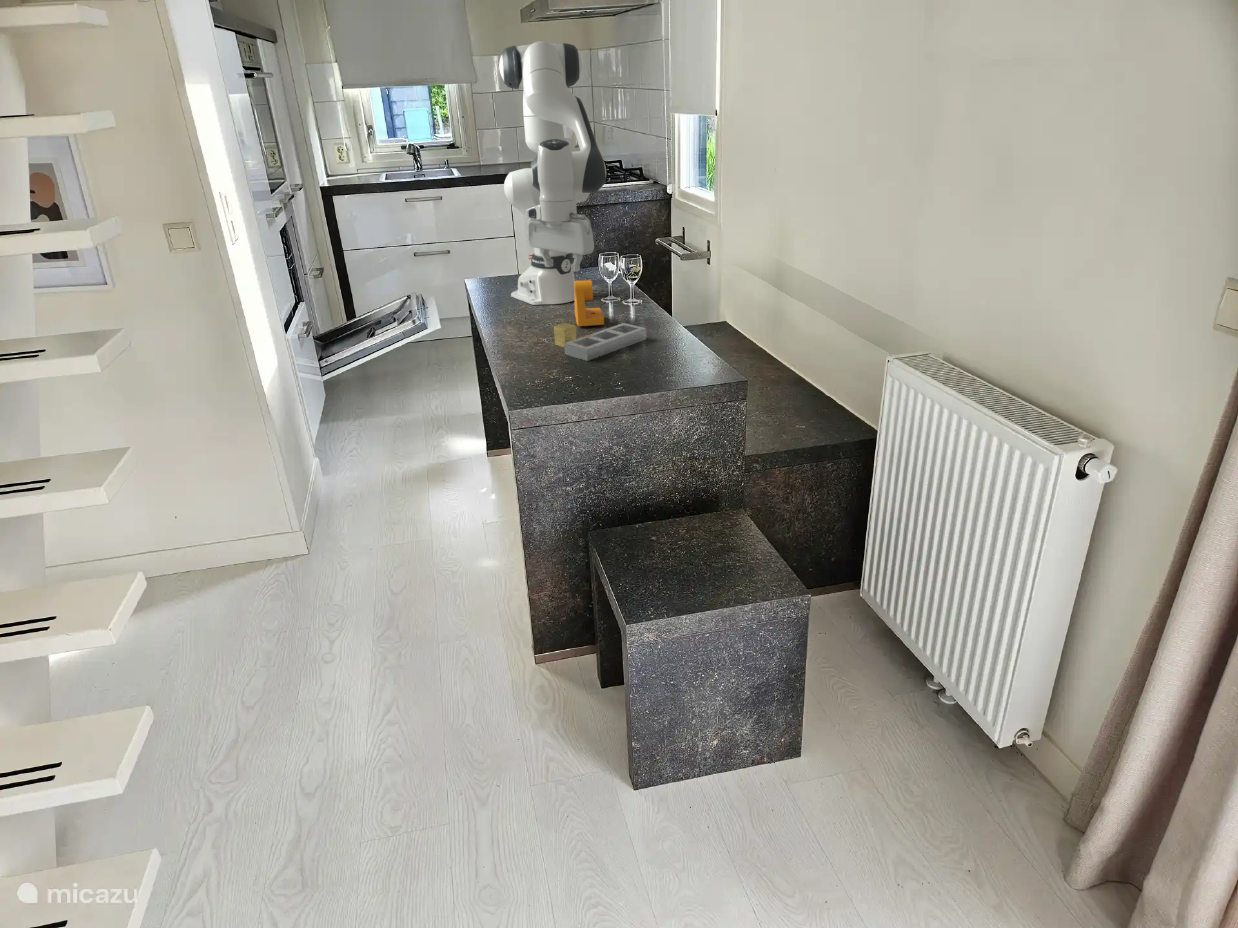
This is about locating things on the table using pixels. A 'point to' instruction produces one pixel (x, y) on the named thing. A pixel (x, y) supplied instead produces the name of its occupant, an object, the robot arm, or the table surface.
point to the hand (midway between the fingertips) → (562, 269)
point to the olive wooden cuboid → (564, 333)
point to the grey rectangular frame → (605, 341)
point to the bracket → (584, 316)
